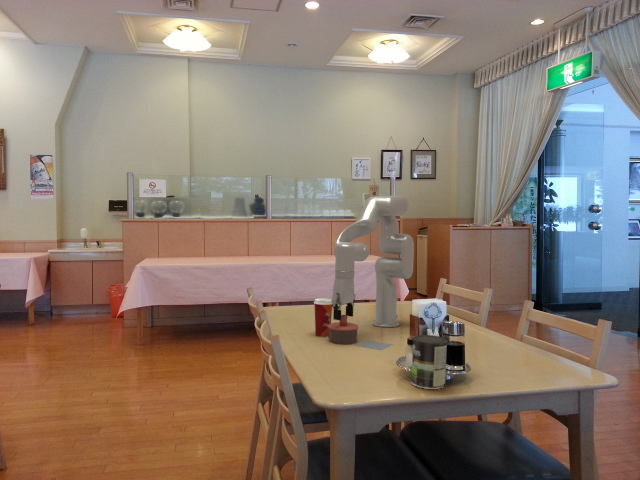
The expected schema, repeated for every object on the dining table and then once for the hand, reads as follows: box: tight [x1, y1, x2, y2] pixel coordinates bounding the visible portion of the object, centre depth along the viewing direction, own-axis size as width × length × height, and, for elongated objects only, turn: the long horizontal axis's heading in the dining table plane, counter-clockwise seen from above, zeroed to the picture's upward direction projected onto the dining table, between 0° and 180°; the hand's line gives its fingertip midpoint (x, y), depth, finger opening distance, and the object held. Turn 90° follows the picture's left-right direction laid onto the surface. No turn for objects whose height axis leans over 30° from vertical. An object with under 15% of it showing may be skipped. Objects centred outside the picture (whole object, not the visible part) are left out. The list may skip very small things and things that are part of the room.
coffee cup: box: [313, 297, 333, 338], centre depth 227 cm, size 8×8×15 cm
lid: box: [328, 314, 359, 331], centre depth 215 cm, size 12×12×5 cm
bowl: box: [328, 328, 358, 345], centre depth 215 cm, size 10×10×6 cm
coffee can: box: [410, 334, 448, 388], centre depth 164 cm, size 10×10×14 cm
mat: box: [354, 339, 394, 351], centre depth 210 cm, size 11×11×1 cm
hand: (343, 317), depth 215 cm, fingers open, 9 cm apart
